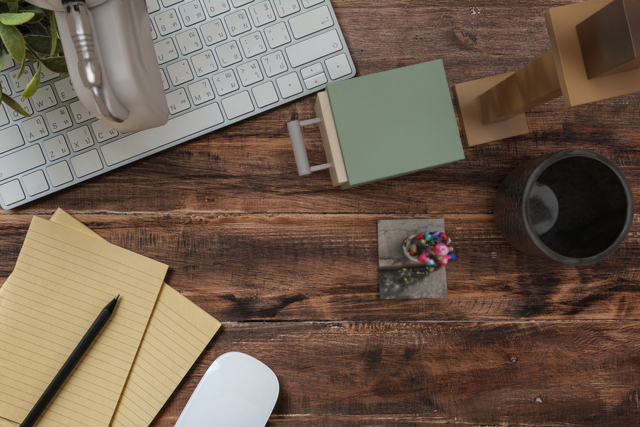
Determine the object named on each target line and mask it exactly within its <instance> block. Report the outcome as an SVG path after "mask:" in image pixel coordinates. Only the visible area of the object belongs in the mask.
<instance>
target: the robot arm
mask: <svg viewBox="0 0 640 427" xmlns="http://www.w3.org/2000/svg"><path fill="white" fill-rule="evenodd" d="M24 1H25V2H26V3H29V4H31V5H33V6H35V7H38V8H40V9H41V8H42V9H44V10H49V11H53V13H54V17H55V21H56V26H57V29H58V30H57V31H58V33H59V37H60V42H61V47H62V50H63V54H64V55H63V56H64V59H65V63H66V67H67V71H68V72H67V73H68V75H69V78H70V82H71V84H72V87H73V90H74V92H75V94H76V96H77V98H78V100H79V101H80V102H81V104H82V105H83V106H84V108H85V109H86V110H87V111H88V112H89V113H90V114H92V115H93V116H94V117H95V118H97V119H98V120H99V121H101V122H102V123H103V124H105V125H106V126H107V127H109V128H111V129H113V130H114V131H117V132H118V133H121V134H130V133H136V132H137V133H138V132H141V131H146V130H151V129H155V128H159V127H162V126H165V125H166V124H167V123H168V121H169V119H170V117H169V116H170V109H169V108H170V107H169V103H168V99H167V94H166V90H165V85H164V82H163V77H162V74H161V69H160V65H159V60H158V55H157V52H156V48H155V43H154V39H153V34H152V32H153V26H152V22H151V18H150V13H149V10H148V4H147V1H146V0H24Z"/></svg>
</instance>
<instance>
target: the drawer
mask: <svg viewBox="0 0 640 427" xmlns="http://www.w3.org/2000/svg"><path fill="white" fill-rule="evenodd" d="M316 94H317V95H316V98H315V104H314V112H315V116H316V117H315V118H310V119H305V120H301V121H300V120H295V119H294V120H290V121H288V122H286V128H287V130H288V135H289V138H290V143H291V147H292V148H291V149H292V152H293V155H294V160H295V164H296V169H297V174H298V176H299V177H303V176H308V175H311V174H312V172H318V171H322V170H325V169H328V171H329V175H330V179H331V184H332V187H333V188H335V187H341V185H342V184H344V183H346V182H347V181H348V178H347V174H346V170H345V165H344V161H343V157H342V153H341V148H340V144H339V140H338V136H337V131H336V127H335V123H334V118H333V114H332V110H331V106H330V101H329V97H328V93H327V91H325V90H324V91H323V90H322V91H318V92H317V93H316ZM315 124H317V125H318V129H319V134H320V138H321V142H322V146H323V150H324V154H325V159H326V163H322V164H318V165H313V166H310V162H309V158H308V154H307V150H306V146H305V140H304V137H303V133H302V132H303V131H302V128H303V127H306V126H307V127H308V126H311V125H315Z"/></svg>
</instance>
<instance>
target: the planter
mask: <svg viewBox="0 0 640 427" xmlns="http://www.w3.org/2000/svg"><path fill="white" fill-rule="evenodd" d="M492 213H493V219H494V224H495V226H496V228H497V230H498V231H499V233H500V235H501V236H502V237H503V238H504V240H505V241H506V242H507V243H508V244H509V245H511V246H512V247H513V248H515V249H516V250H518V251H519V252H521V253H524V254H525V255H528V256H530V257H533V258H536V259H540V260H544V261H547V262H551V263H555V264H559V265H563V266H571V267H581V266H589V265H592V264H597V263H599V262H602V261H604V260H605V259H607V258H609V257H610V256H612V255H613V254H614V253H616V251H617V250H618V249H619V248H620V247H621V246H622V245H623V243H624V242H625V240H626V239H627V237H628V236H629V234H630V232H631V228H632V226H633V222H634V217H635V197H634V193H633V189H632V186H631V184H630V182H629V179H628V177H627V176H626V174H625V173H624V171H623V169H621V168H620V166H618V164H616V163H615V162H614V161H613V160H612V159H610V158H609V157H607V156H605V155H604V154H602V153H600V152H597V151H595V150H591V149H586V148H568V149H567V148H565V149H562V150H557V151H554V152H551V153H548V154H545V155H542V156H539V157H536V158H533V159H531V160H527V162H523V163H522V164H521V165H519V166H517V167H515V168H514V169H512V170H511V171H510V172H509V173H508V174H507V175H506V176H505V177H504V178H503V180H502V181H501V182H500V184H499V185H498V187H497V188H496V191H495V193H494V198H493V202H492Z"/></svg>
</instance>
